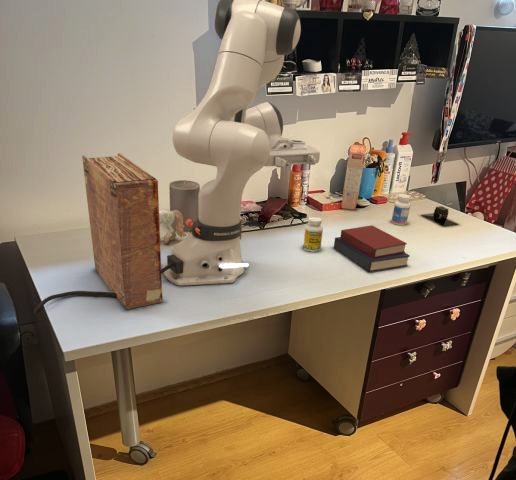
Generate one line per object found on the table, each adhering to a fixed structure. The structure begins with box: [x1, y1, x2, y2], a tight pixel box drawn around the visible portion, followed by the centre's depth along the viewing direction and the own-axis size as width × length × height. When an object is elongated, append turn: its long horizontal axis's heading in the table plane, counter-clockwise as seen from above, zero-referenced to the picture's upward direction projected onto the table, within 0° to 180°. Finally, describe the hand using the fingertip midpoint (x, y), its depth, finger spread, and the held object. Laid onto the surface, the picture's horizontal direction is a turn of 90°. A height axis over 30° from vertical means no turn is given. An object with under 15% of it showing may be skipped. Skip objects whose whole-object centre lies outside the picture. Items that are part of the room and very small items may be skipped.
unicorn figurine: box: [159, 209, 187, 245], centre depth 159 cm, size 7×20×13 cm, turn 117°
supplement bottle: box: [303, 216, 324, 253], centre depth 163 cm, size 5×5×10 cm
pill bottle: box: [391, 193, 411, 226], centre depth 188 cm, size 6×5×10 cm
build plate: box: [420, 205, 459, 228], centre depth 195 cm, size 12×7×5 cm, turn 26°
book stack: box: [333, 224, 411, 273], centre depth 161 cm, size 14×19×6 cm
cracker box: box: [340, 144, 367, 211], centre depth 200 cm, size 14×6×21 cm, turn 168°
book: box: [81, 152, 163, 310], centre depth 129 cm, size 25×9×30 cm, turn 31°
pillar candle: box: [168, 179, 201, 232], centre depth 172 cm, size 10×10×15 cm
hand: (300, 163), depth 162 cm, fingers open, 8 cm apart
